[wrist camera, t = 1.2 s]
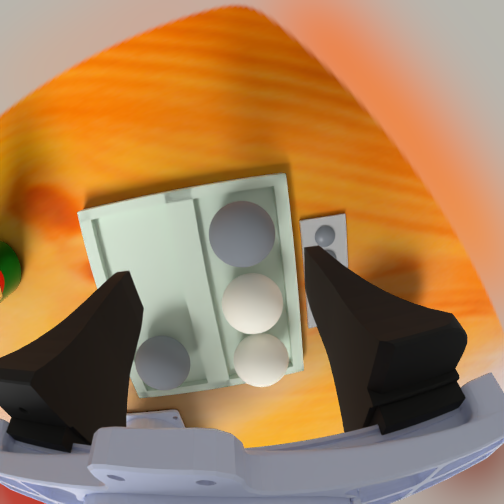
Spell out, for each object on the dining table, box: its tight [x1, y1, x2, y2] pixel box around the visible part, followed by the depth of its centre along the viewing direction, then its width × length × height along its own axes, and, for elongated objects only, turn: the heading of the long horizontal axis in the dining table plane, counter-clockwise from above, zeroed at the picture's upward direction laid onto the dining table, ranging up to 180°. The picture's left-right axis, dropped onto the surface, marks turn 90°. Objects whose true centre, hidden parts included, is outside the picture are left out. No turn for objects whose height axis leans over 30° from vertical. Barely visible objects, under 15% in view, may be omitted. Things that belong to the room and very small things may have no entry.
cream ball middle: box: [222, 273, 283, 334], centre depth 24 cm, size 5×5×5 cm
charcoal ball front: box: [209, 201, 275, 267], centre depth 22 cm, size 5×5×5 cm
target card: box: [299, 213, 348, 328], centre depth 27 cm, size 10×4×1 cm, turn 8°
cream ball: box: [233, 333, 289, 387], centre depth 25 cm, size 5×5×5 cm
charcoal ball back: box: [135, 335, 191, 390], centre depth 24 cm, size 5×5×5 cm
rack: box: [77, 173, 304, 398], centre depth 25 cm, size 18×16×1 cm
